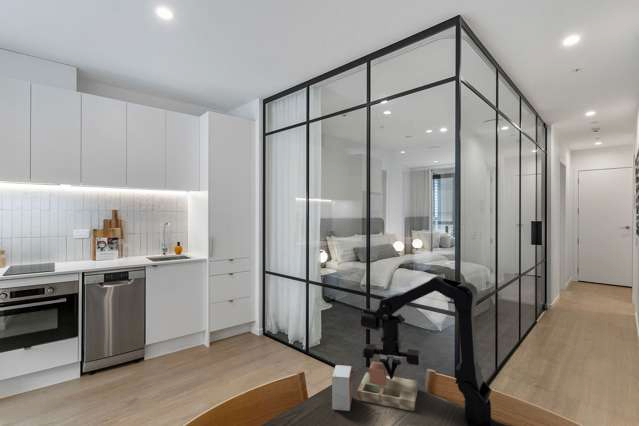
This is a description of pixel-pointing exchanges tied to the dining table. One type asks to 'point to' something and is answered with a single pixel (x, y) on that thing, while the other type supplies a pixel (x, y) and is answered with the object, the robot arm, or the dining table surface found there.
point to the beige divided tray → (389, 392)
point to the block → (377, 373)
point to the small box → (342, 388)
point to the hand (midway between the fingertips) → (391, 378)
